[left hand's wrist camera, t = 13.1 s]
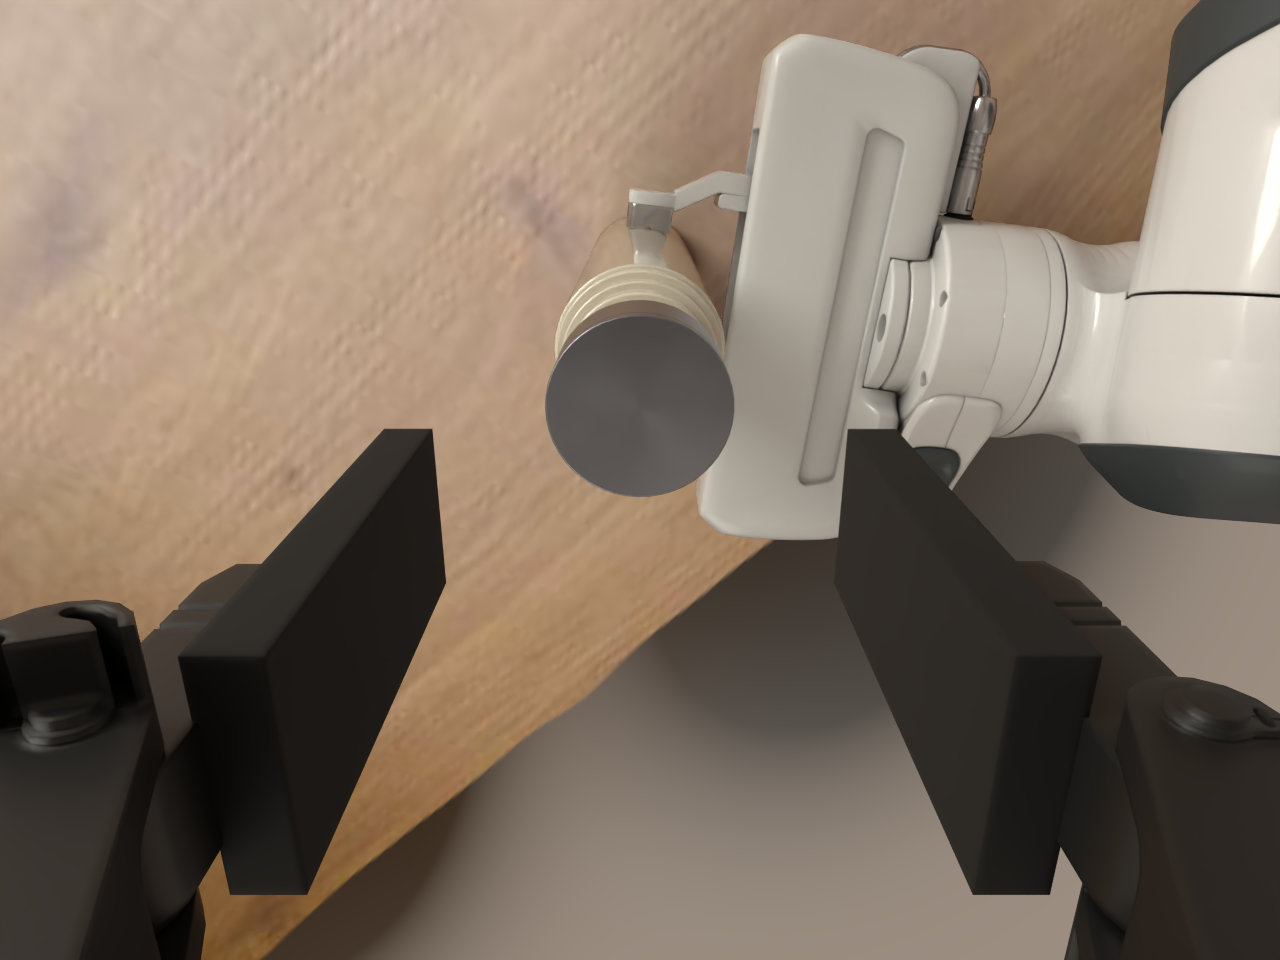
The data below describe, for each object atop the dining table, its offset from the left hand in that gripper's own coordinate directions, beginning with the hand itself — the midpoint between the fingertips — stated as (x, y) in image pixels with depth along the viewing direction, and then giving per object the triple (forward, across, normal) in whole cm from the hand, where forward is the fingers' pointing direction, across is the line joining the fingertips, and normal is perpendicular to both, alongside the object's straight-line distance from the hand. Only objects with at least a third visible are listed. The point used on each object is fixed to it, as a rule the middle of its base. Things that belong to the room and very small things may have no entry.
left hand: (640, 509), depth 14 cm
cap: (+6, 0, 0) cm, 6 cm away
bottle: (+30, 0, 0) cm, 30 cm away
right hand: (+24, -1, 0) cm, 24 cm away
